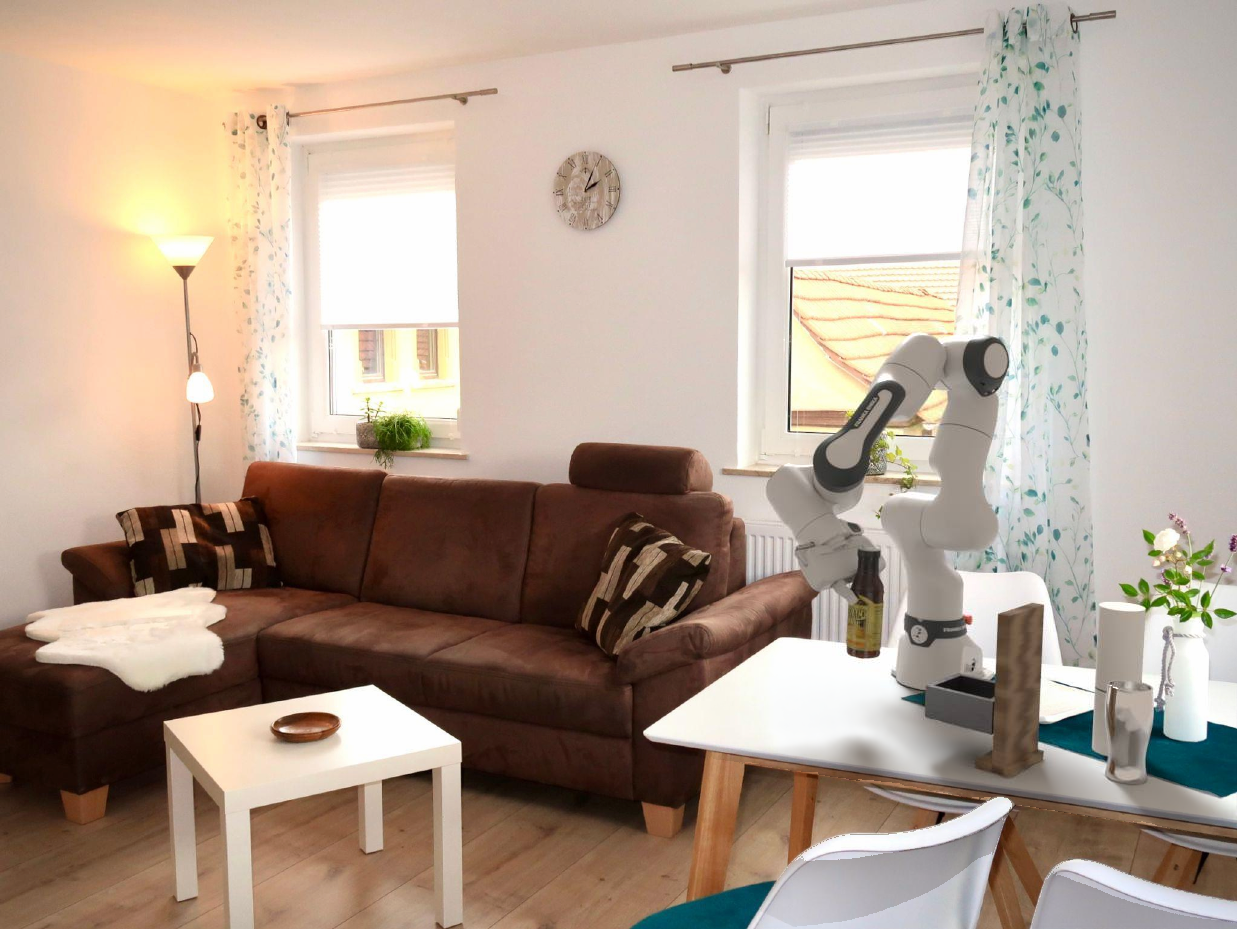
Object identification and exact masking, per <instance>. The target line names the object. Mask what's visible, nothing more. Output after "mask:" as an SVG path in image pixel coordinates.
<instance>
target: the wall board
mask: <svg viewBox="0 0 1237 929" xmlns="http://www.w3.org/2000/svg"><path fill="white" fill-rule="evenodd" d="M1044 614H1045V604H1043V603H1036V602H1030V603H1028V604H1024V605H1022V606H1021V605H1020V606H1018V607H1015V608H1013V609H1009V610H1004V611H1002V612H1000V613H997V625H996V626H997V627H996V649H995V650H996V652H995V654H996V655H995V656H996V657H995V673H994V679H995V680H994V681H995V700H994V725H993V735H992V750H990V751H988V752H985V753H984V754H981V755H979V756H978V757H976V758H974V762H973V763H974V764H973V768H974V769H977V770H980V771H983V772H987V773H990V774H994V775H998V776H1000V777H1004V778H1008V779H1010V778H1013V777H1014V776H1016V775H1018V774H1019V773H1021V772H1024V771H1025V770H1028V769H1029V768H1031V767H1032V766H1035V765H1037V764H1038V763H1040V762H1041V761H1044V757H1045V756H1044V754H1045V751H1044V750H1042V749H1039V729H1040V711H1041V710H1040V709H1041V708H1040V706H1041V689H1042V687H1041V686H1042V663H1043V662H1042V660H1043V638H1044V637H1043V636H1044V619H1045V618H1044Z"/></svg>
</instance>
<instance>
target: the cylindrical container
mask: <svg viewBox="0 0 1237 929" xmlns="http://www.w3.org/2000/svg"><path fill="white" fill-rule="evenodd" d="M1146 611H1147V610H1146V607H1144V606H1143V605H1140V604H1135V603H1130V602H1123V601H1104V602H1100V603H1099V604H1098V617H1097V634H1096V635H1097V636H1096V637H1097V638H1096V656H1095V657H1096V659H1095V674H1094V675H1095V677H1094V700H1093V720H1092V722H1093V724H1092V742H1091V749H1092V751H1094V752H1095V753H1097V754H1099V755H1101V756H1106V757H1108V754H1109V747H1108V739H1107V732H1106V725H1105V701H1106V693H1107V686H1108V682H1109V681H1112V680H1132V681H1138V682H1142V683H1143V669H1144V668H1143V666H1144V665H1143V664H1144V648H1145V646H1144V645H1145V626H1146Z"/></svg>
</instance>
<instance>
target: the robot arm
mask: <svg viewBox="0 0 1237 929" xmlns="http://www.w3.org/2000/svg"><path fill="white" fill-rule="evenodd" d="M1009 365H1010V357H1009V352H1008V350H1007V347H1006V345H1005V343H1004V342H1003V341H1002V340H1001V339H1000V338H998V337H995V336H992V335H988V334H976V335H968V334H967V335H963V334H961V335H952V336H948V337H943V338H937V337H935V336H933V335H931V334H930V333H925V332H916V333H911V334H910V335H908V336H906V337H905V338H904V339H903V340H902V341H901V342H899V344H898V345H897V346H896V347H895V348H894V350H893V351H892V352H891V353H890V354H889V355H888V357H887V358H885V360H884V362H883V364H882V365H881V366H880V367H879V369H878V371H877V372H876V374H875V375H874V378H873V379H872V381H871V383H870V386H869V387H868V390H867V392H866V395H865V397H864V399H863V400H862V402H861V403H860V404H859V406H858V407H857V408H856V410H855V411H854V412H853V413H852V415H851V417H850V418H849V419H848V421H847V422H846V423H845V424H844V425H843V427H842V428H840V429H839V430H838V431H837V432H835V433H834V434H832V435H830V436H829V437H827V438H826V439H824V440H823V441H821V442H820V443H819V445H818V446H817V447H816V449H815V451H814V452H813V456H812V464H807V465H806V464H805V465H802V464H801V465H800V464H799V465H798V464H797V465H796V464H793V463H786V464H784V465H782V466H780V467H778V469H777V470H776V471H774V472H773V473H772V474H771V476H770V478H769V479H768V481H767V483H766V486H765V487H766V488H765V495H766V498H767V500H768V502H769V504H770V506H771V507H772V509H773V511H774V512H775V514H776V515H777V517H778V518H779V519H780V521H781V522H782V524H783V525H785V526H786V527H787V528H788V530H790V531H791V534H792V535H793V537H794V540H795V542H796V543H797V545H796V546H795V549H794V556H795V558H796V559H797V562H798V566H799V568H800V570H801V572H802V574H803V576H804V577H805V579H806V581H807V582H808V584H809V585H810V587H811V588H812V589H813V590H815V591H816V592H817V593H818V592H824V591H827V590H830V589H833V591H834V592H835V594H837V595H838V596H840V597H842V598H843V599H844V600H846V602H847V603H849V604H850V605H851V606H852V605H856V604H858V602H860V601H861V598H860V597H859V596H858V594H857V592H853V591H852V590H850V587H848V585H849V584H852V583H853V580H854V578H855V575H856V572H857V568H858V555H857V553H858V548H860V547H873V548H877V546H876V545H875V544H874V543H873V542H872V540H871V539H870V538H869V537H868V536H866V535H863V534H864V533H865V530H864V528H863V526H862V525H860V524H859V523H856V522H852V521H847V520H845V519H842V518H838V517H837V516H838V515H840V514H843V513H845V512H846V511H849V510H851V509H854V507H855V506H857V504H859V502H860V501H861V499H862V496H863V492H864V489H865V488H864V487H865V482H866V477H867V474H868V470H869V466H870V462H871V450H872V448H873V446H874V445H875V443H876V442H877V440H878V439H879V438H880V437H881V435H882V433H883V432H884V431H885V430H886V428H887V426H888V425H889V423H891V422H892V423H903V422H909V421H910V420H911V419H912V418H913V417H915V415H916V414H917V413H918V412H919V411H920V409H921V408H922V407H923V406H924V405H925V403H926V402H927V401H928V398H929V397H930V396H931V394H932V393H933V391H936V390H938V391H940V390H941V391H946V395H947V402H946V406H945V408H944V411H942V412H943V413H942V415H941V418H940V421H939V423H938V427H937V430H936V432H935V436H934V439H933V441H932V445H931V449H930V453H929V454H928V463H929V467H930V469H931V470H932V471H933V472H934V474H935V475H936V476H937V477H939V479H940V490H939V493H938V494H934V493H928V492H927V493H926V492H925V493H923V492H917V491H909V492H901V493H895V494H892V495H890V496H889V497H888V498H887V500H886V501H885V502H884V504H883V506H882V508H881V511H880V523H881V524H880V525H881V527H882V529H883V531H884V533H885V534H886V536H887V537H889V539H891V541H892V542H893V543H894V545H895V547H896V548H897V551H898V553H899V555H900V557H901V560H902V564H903V567H904V570H905V571H904V572H905V576H906V611H905V612H904V617H903V630H904V633H903V634H902V635H900V636H899V639H898V647H897V655H896V665H895V667H892V668H891V670H890V671H891V672H890V673H891V675H893V676H894V677H895V678H896V681H897V682H898V683H900V684H901V685H904V686H906V687H909V688H913V689H916V690H917V689H918V690H922V691H926V685H928V684H931V683H934V682H936V681H939V680H941V679H944V678H947V677H949V676H952V675H955V674H957V673H961V674H965V675H970V676H974V677H979V678H983V679H987V680H992V679H993V678H995V672H994V671H993V670H992V669H989V668H987V667H983V659H984V658H983V650H982V648H981V646H980V645H979V644H977V643H976V642H975V641H974V640H973V639H972V638H971V637H970V636H969V635H968V634H967V633H968V629H967V626H971V625H972V624H973V622H974V621H973V620H974V619H973V616H972V614H971V615H970V614H964V613H963V611H964V610H963V609H964V589H965V588H964V580H963V577H962V575H961V574H960V573H959V572H958V571H957V570H956V569H955V568H954V567H953V566H952V565H951V564H950V562H949V560H948V558H947V556H946V554H945V551H947V552H948V551H949V552H955V553H960V554H963V553H966V554H967V553H968V554H969V553H980V552H985V551H987V550H988V549H989V548H990V547H991V546H993V544H994V542H995V541H996V539H997V537H998V533H999V528H1000V527H999V519H998V516H997V514H996V511H995V510H994V509H993V507H992V506H991V505H990V503H989V502H988V500H987V497H986V495H985V491H984V480H983V479H984V472H985V468H986V464H987V459H988V456H989V453H990V450H991V445H992V443H993V438H994V435H995V432H996V431H995V430H996V427H997V420H998V413H999V407H1000V406H999V404H1000V403H999V402H1000V400H999V396H998V394H997V392H998V390H999V389H1000V388H1001V387H1002V385H1003V382H1004V380H1005V378H1006V376H1007V373H1008V369H1009ZM886 563H887V562H886V559H885V557H884V556H883V555H882V554H881V556H880V558H879V575H880V574H881V573H882V572H883V571H884V570H885V569H886V567H887V564H886ZM884 595H885V593H884V594H883V596H884Z"/></svg>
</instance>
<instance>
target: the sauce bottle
mask: <svg viewBox="0 0 1237 929" xmlns="http://www.w3.org/2000/svg"><path fill="white" fill-rule="evenodd" d="M881 553H882V550H881V549H880V548H877V547H876V548H873V547H860V548H858V553H857V555H858V568H857V572H856V575H855V578H854V580H853V583H851V586H850V587H849V589H850V590H852V591H853V592H857V594H858V596H859V597H860V598H861V601H860V602H858V604H856V605H852V606H851V605H850V604H849V603H848V602H847V603H848V605H847V621H846V623H847V624H846V638H845V644H846V654H848V656H850V657H855V658H857V659H861V660H862V659H863V660H864V659H877V658H878V657H880V655H881V648H882V638H883V636H882V634H883V633H882V632H883V620H884V603H885V602H884V595H885V588H884V587H885V586H884V583H883V581H882V579H881V577H880V574H879V558H880V556H881V555H882V554H881ZM883 594H884V595H883Z"/></svg>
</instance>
